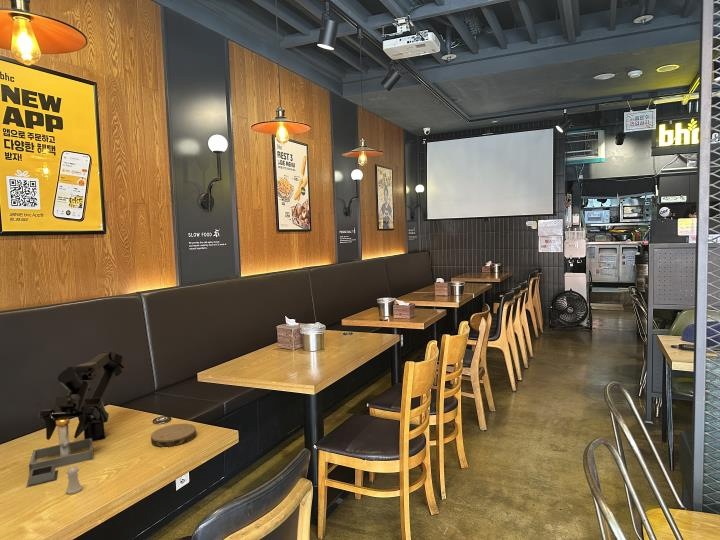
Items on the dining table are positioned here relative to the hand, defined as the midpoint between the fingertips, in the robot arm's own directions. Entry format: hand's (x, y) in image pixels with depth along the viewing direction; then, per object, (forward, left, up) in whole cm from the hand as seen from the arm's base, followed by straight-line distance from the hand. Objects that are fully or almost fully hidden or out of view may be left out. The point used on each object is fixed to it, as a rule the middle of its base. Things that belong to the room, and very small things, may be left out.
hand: (61, 438), depth 162 cm
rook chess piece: (-4, +25, -9) cm, 27 cm away
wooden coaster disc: (-36, -1, -10) cm, 37 cm away
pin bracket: (+5, +10, -9) cm, 15 cm away
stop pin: (-1, -1, -8) cm, 8 cm away
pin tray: (0, -3, -9) cm, 9 cm away
